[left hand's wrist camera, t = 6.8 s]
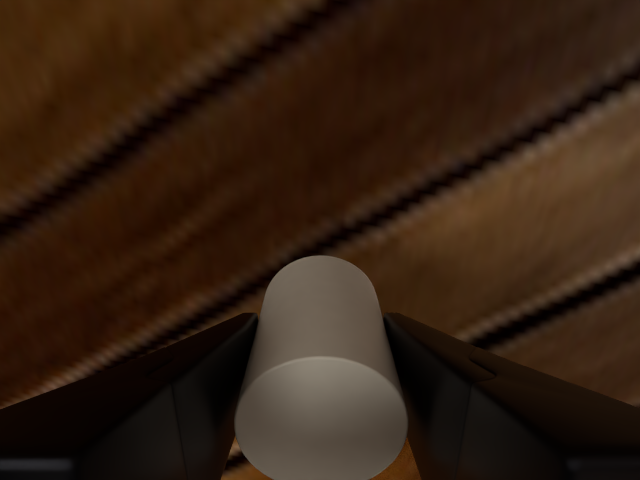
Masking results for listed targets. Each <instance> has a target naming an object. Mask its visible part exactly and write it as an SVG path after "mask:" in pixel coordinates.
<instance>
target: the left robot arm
mask: <svg viewBox="0 0 640 480" xmlns="http://www.w3.org/2000/svg"><path fill="white" fill-rule="evenodd" d="M383 321H384V325H385V329H386V333H387V336H388V340H389V344H390V348H391V351H392V355H393V359H394V362H395V366H396V370H397V374H398V377H399V381H400V385H401V389H402V392H403V396H404V400H405V403H406V407H407V412H408V421H409V426H408V432H407V438H408V441H409V444H410V447H411V450H412V453H413V456H414V459H415V462H416V465H417V467H418V470H419V473H420V476H421V479H422V480H640V408H638V407H635V406H632V405H630V404H627V403H624V402H621V401H619V400H616V399H613V398H610V397H608V396H605V395H602V394H599V393H597V392H594V391H591V390H589V389H586V388H583V387H580V386H578V385H575V384H572V383H569V382H567V381H564V380H561V379H558V378H556V377H553V376H550V375H547V374H545V373H542V372H539V371H537V370H534V369H531V368H528V367H526V366H523V365H520V364H518V363H515V362H512V361H510V360H507V359H504V358H502V357H500V356H497V355H495V354H492V353H490V352H487V351H485V350H483V349H481V348H478V347H477V348H476V347H475V346H472V345H470V344H468V343H466V342H463V341H461V340H459V339H456V338H454V337H452V336H450V335H447V334H445V333H443V332H440V331H438V330H436V329H434V328H431V327H429V326H427V325H424V324H422V323H420V322H417V321H415V320H413V319H411V318H408V317H406V316H404V315H401V314H399V313H385V314H384V318H383ZM257 325H258V315H257V314H256V313H242V314H240V315H238V316H236V317H233V318H231V319H229V320H226V321H224V322H222V323H220V324H217V325H215V326H213V327H211V328H208V329H206V330H204V331H202V332H199V333H197V334H195V335H192V336H190V337H188V338H186V339H183V340H181V341H179V342H177V343H174V344H172V345H170V346H167V347H166V348H165V347H164V348H162V349H159V350H157V351H155V352H152V353H150V354H148V355H145V356H143V357H140V358H138V359H135V360H133V361H130V362H128V363H125V364H122V365H120V366H117V367H114V368H112V369H109V370H106V371H103V372H101V373H98V374H95V375H93V376H90V377H87V378H84V379H82V380H79V381H76V382H73V383H71V384H68V385H65V386H63V387H60V388H57V389H54V390H52V391H49V392H46V393H44V394H41V395H38V396H35V397H33V398H30V399H27V400H25V401H22V402H19V403H16V404H14V405H11V406H8V407H6V408H3V409H0V480H220V479H221V476H222V473H223V470H224V468H225V465H226V462H227V459H228V456H229V453H230V450H231V447H232V444H233V441H234V438H235V430H234V415H235V409H236V406H237V402H238V398H239V394H240V390H241V386H242V382H243V379H244V375H245V371H246V367H247V363H248V359H249V355H250V352H251V348H252V344H253V340H254V336H255V332H256V328H257Z"/></svg>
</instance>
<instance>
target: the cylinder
mask: <svg viewBox="0 0 640 480" xmlns="http://www.w3.org/2000/svg"><path fill="white" fill-rule="evenodd" d="M408 426H409V421H408V412H407V407H406V403H405V400H404V396H403V392H402V389H401V385H400V381H399V377H398V374H397V370H396V366H395V362H394V359H393V355H392V351H391V348H390V344H389V340H388V336H387V333H386V329H385V325H384V321H383V318H382V314H381V310H380V307H379V303H378V299H377V295H376V292H375V289H374V287H373V285H372V283H371V281H370V280H369V278H368V277H367V276H366V275H365V274H364V273H363V272H362V271H361V270H360V269H359V268H358V267H356V266H355V265H353V264H351V263H350V262H347V261H345V260H343V259H340V258H336V257H331V256H310V257H305V258H302V259H299V260H296V261H294V262H292V263H290V264H288V265H287V266H285V267H284V268H283V269H282V270H280V271H279V272H278V273H277V274H276V275H275V277H274V278H273V279H272V281H271V282H270V284H269V286H268V288H267V291H266V294H265V298H264V301H263V305H262V309H261V313H260V317H259V321H258V325H257V328H256V332H255V336H254V340H253V344H252V348H251V352H250V355H249V359H248V363H247V367H246V371H245V375H244V379H243V382H242V386H241V390H240V394H239V398H238V402H237V406H236V409H235V415H234V430H235V435H236V439H237V441H238V444H239V447H240V448H241V450H242V452H243V454H244V455H245V456H246V458H247V459H248V460H249V461H250V462H251V463H252V464H253V465H254V466H255V467H256V468H257V469H258V470H260V471H261V472H262V473H264V474H265V475H267V476H268V477H270V478H272V479H274V480H368V479H370V478H372V477H374V476H376V475H377V474H379V473H380V472H382V471H383V470H384V469H385V468H387V467H388V466H389V465H390V464H391V463H392V462H393V461H394V460H395V458H396V457H397V455H398V454H399V453H400V451H401V449H402V447H403V445H404V443H405V440H406V437H407V432H408Z"/></svg>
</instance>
